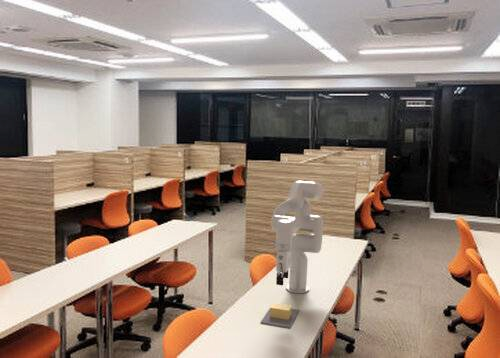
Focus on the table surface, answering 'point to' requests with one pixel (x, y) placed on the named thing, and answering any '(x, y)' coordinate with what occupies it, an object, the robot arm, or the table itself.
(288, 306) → the box
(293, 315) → the mat
